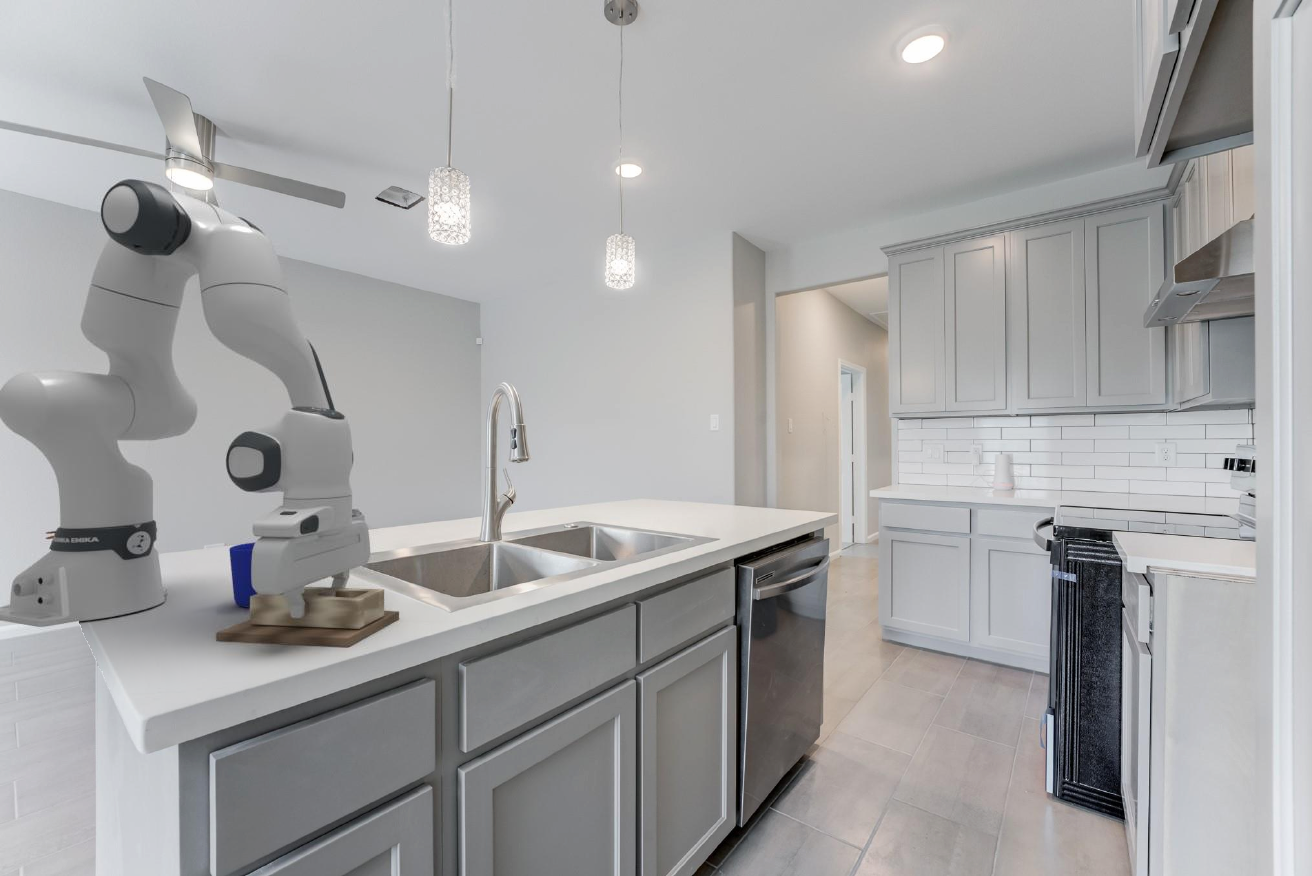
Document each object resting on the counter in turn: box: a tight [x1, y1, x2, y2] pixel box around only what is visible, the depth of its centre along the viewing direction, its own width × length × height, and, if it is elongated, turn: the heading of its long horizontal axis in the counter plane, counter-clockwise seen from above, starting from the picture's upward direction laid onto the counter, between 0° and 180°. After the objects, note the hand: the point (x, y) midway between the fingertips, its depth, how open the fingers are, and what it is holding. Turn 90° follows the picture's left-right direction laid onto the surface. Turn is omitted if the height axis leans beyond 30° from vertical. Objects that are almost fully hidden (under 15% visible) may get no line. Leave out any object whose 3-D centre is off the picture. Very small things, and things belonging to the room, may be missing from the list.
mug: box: [228, 541, 258, 608], centre depth 96 cm, size 8×12×10 cm
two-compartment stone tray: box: [249, 586, 385, 629], centre depth 83 cm, size 17×6×4 cm, turn 83°
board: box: [215, 590, 400, 648], centre depth 83 cm, size 20×12×6 cm, turn 83°
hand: (318, 608), depth 83 cm, fingers closed on two-compartment stone tray, 6 cm apart
